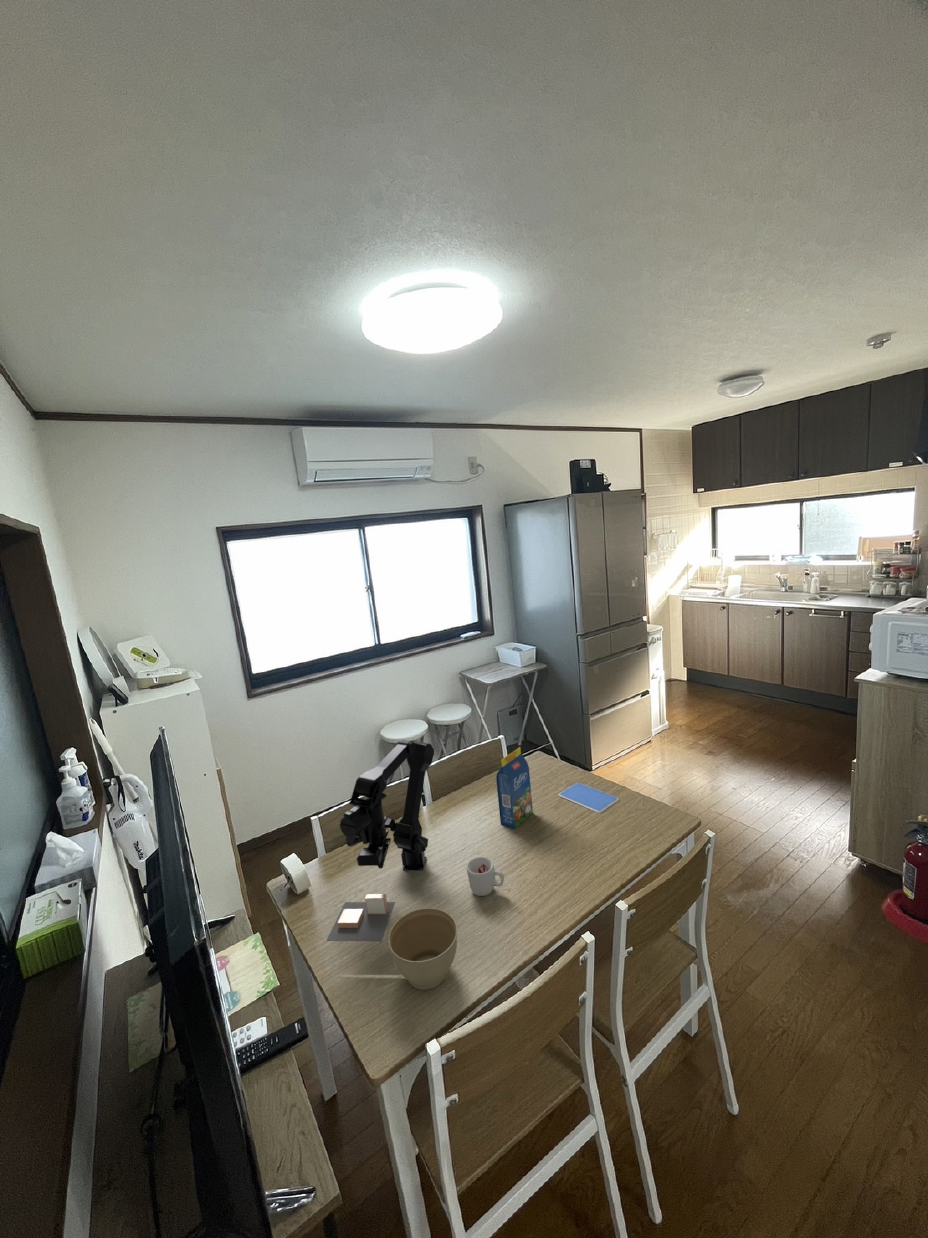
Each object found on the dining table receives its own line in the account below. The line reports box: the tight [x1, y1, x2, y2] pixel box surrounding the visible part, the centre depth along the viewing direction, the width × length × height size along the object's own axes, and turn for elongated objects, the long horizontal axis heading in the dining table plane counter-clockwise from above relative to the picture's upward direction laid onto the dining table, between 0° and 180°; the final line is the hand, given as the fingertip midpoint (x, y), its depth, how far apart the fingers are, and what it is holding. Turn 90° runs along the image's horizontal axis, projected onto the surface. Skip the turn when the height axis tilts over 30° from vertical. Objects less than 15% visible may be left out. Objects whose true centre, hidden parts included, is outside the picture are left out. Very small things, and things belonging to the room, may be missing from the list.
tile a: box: [364, 893, 388, 914], centre depth 140 cm, size 6×2×5 cm, turn 83°
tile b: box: [338, 909, 364, 928], centre depth 138 cm, size 6×2×5 cm
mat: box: [326, 901, 396, 942], centre depth 138 cm, size 15×14×1 cm
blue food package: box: [495, 746, 534, 830], centre depth 178 cm, size 6×12×25 cm, turn 141°
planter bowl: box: [388, 907, 458, 991], centre depth 118 cm, size 16×16×11 cm
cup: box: [465, 856, 505, 897], centre depth 144 cm, size 11×8×8 cm
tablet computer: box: [558, 782, 620, 814], centre depth 189 cm, size 19×13×1 cm, turn 40°
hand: (381, 867), depth 146 cm, fingers closed
